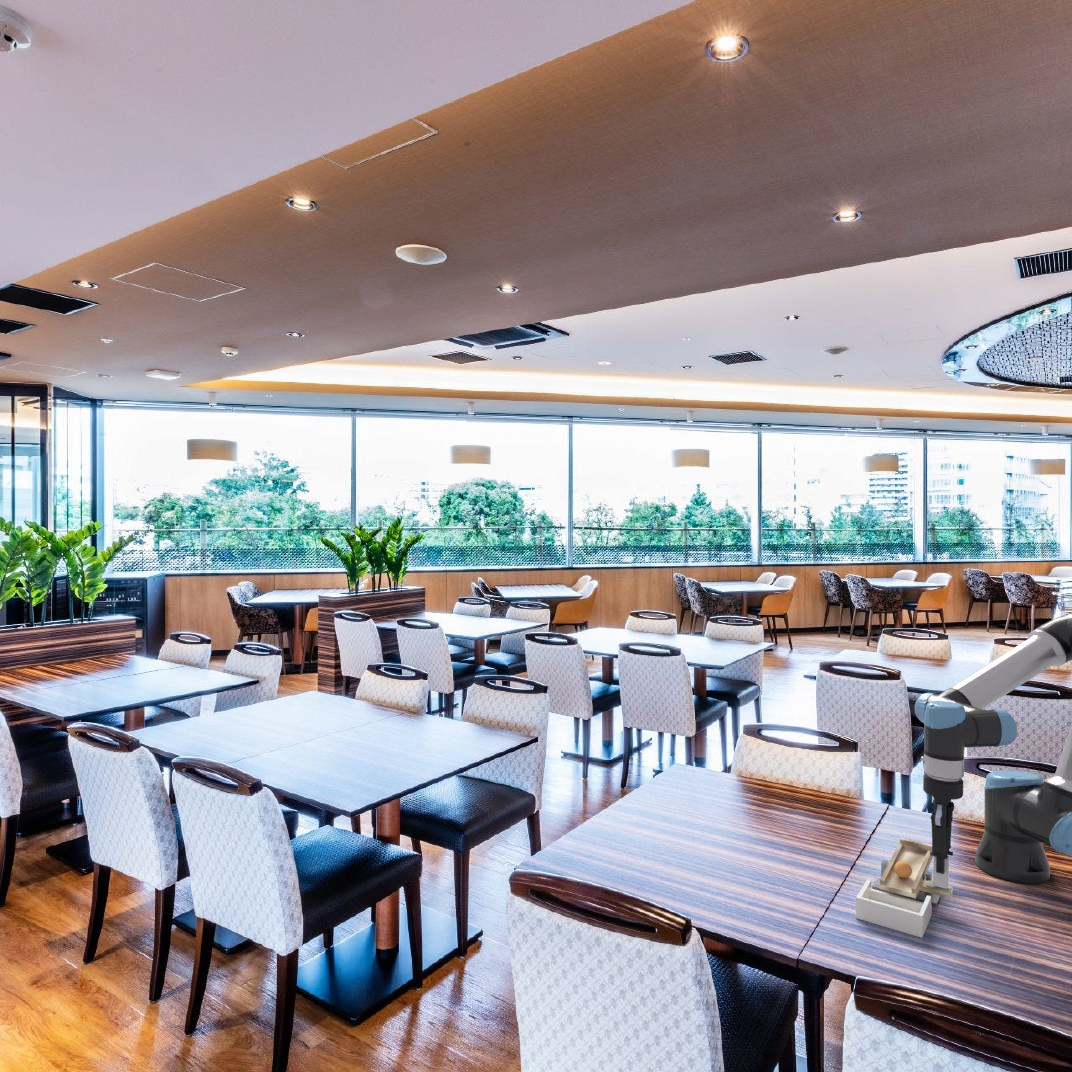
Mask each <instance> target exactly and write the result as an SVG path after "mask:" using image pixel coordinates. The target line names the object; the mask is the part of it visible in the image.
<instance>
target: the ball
mask: <svg viewBox="0 0 1072 1072" xmlns="http://www.w3.org/2000/svg"><path fill="white" fill-rule="evenodd" d="M894 869H895V872H896V874H897V875H898V876H899V877H901V878H908V877H910V876H911V874H912V868H911V866H910V865H909V864H908V863H907V862H905V861H899V862H897V863H896V864H895V868H894Z"/></svg>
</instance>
